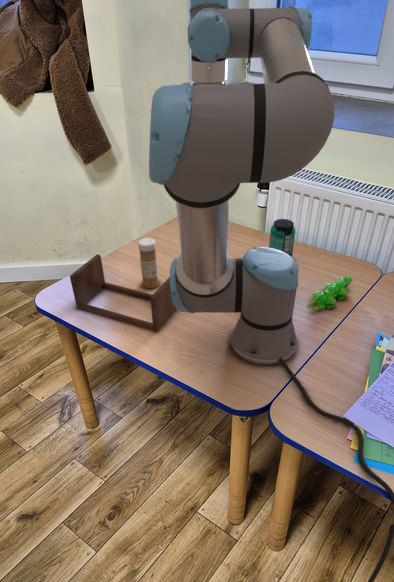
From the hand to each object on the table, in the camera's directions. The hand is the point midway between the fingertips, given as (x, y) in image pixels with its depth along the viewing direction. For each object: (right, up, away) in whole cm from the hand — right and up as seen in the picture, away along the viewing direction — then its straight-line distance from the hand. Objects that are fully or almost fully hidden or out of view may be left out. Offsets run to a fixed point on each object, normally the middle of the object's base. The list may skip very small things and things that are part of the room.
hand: (208, 181), depth 113 cm
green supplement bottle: (+22, -14, +27) cm, 38 cm away
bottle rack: (-21, -30, +10) cm, 38 cm away
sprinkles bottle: (-16, -23, +18) cm, 33 cm away
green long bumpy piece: (+32, -28, +11) cm, 44 cm away
